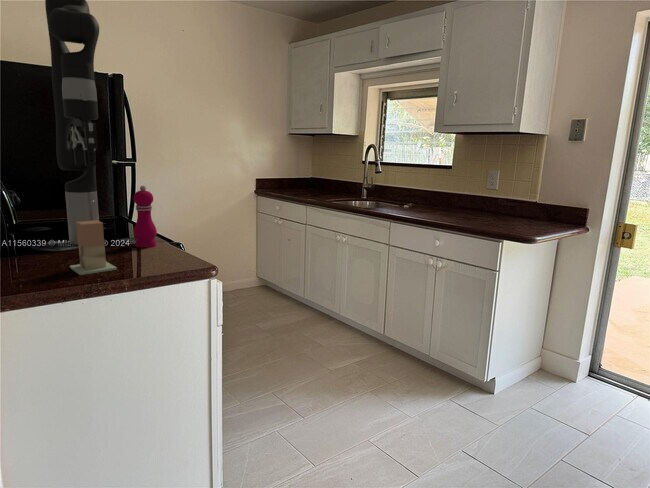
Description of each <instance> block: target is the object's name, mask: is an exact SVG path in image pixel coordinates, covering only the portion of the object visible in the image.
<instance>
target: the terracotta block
mask: <svg viewBox="0 0 650 488" xmlns="http://www.w3.org/2000/svg"><path fill="white" fill-rule="evenodd" d="M76 225H77V237H78V244H79V245H80V246H82V247H84V248H85V247H93V246H102V245H105V237H104V236H105V234H104V223H103V222H102V221H100V220H99V221H97V220H94V221H81V222H76ZM79 245H78V246H79Z"/></svg>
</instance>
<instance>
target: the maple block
mask: <svg viewBox="0 0 650 488" xmlns="http://www.w3.org/2000/svg"><path fill="white" fill-rule="evenodd" d="M77 246H78V254H79V255H78V256H79V264H80V266H81V267H82V268H84V269H85V270H90V269H96V268H103V267H106V262H107V259H106V257H107V256H106V246H105V244H104V245H102V246H93V247H85V248H84V247H82V246H80V245H79V244H78V245H77Z"/></svg>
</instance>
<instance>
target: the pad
mask: <svg viewBox="0 0 650 488" xmlns="http://www.w3.org/2000/svg"><path fill="white" fill-rule="evenodd" d="M69 268H70V269H71V270H72V271H73V272H75V273H76V274H78V275H79V276H85V275H90V274H98V273H103V272H111V271H116V270H118V267H117V266H115V265H113V264H111V263H110V262H108V261H106V267H103V268H96V269H90V270H85V269H84V268H82V267H81V266H80V263H79V264H78V263H77V264H71V265H69Z"/></svg>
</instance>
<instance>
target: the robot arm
mask: <svg viewBox="0 0 650 488" xmlns="http://www.w3.org/2000/svg"><path fill="white" fill-rule="evenodd" d="M44 1H45V2H44V4H45V5H44V7H45V15H46V23H47V29H48V37H49V47H50V61H51V63H50V64H51V81H52V82H51V83H52V94H53V95H52V96H53V105H54V114H55V142H56V143H55V150H56V153H55V154H56V155H55V156H56V163H57V165H58V168H59V169H60V170H62V171H83V174H82V175H81V176H79V177H77V178H75V179H73V180H69V181H67V182H65V183H64V194H65V203H66V206H65V207H66V218H67V227H68V228H67V229H68V239H69V240H68V241H69V244H70V245H73V246H74V245H75V246H79V245H78V237H77V225H76V222H81V221H94V220H97V221H99V222H100V216H99V202H98V201H99V200H98V187H97V173H96V172H97V171H96V150H97V149H98V148H99V141H98V131H97V124H96V123H95V122H92V121H91V120H93V121H95V120H98V119H99V109H98V106H99V105H98V97H97V95H98V94H97V93H98V92H97V87H96V81H95V79H96V78H95V68H94V66H95V65H94V63H95V53H96V47H97V43H98V39H99V36H100V24H99V22H98V20H97V19H96V17H95V16H94V15H92V14H91V13H90V7H89V3H88V1H87V0H44ZM66 43H72V44H79V45H83V48H82V49H80V50H79V51H78V50H77V51H70V49H69V48H68V46H67V44H66Z"/></svg>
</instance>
